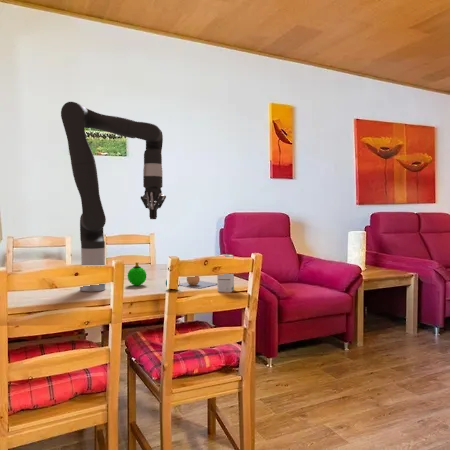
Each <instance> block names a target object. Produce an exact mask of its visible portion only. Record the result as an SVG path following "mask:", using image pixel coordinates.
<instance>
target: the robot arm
mask: <svg viewBox="0 0 450 450" xmlns="http://www.w3.org/2000/svg"><path fill="white" fill-rule="evenodd" d="M60 117H61V121H62V125H63V128H64V132H65V135H66V139H67V144H68V145H67V146H68V152H69V158H70V164H71V165H70V166H71V170H72V175H73V178H74V183H75V186H76V188H77V190H78V194H79V195H80V196H79V197H80V202H81V209H82V210H81V211H82V213H81V215H80V217H79V218H80V219H79V236H80V238H79V239H80V251H81V252H80V255H81V258H80V260H81V261H80V262H81V263H80V266H81V265H105V266H106V242H105V241H106V240H105V238H104V237H105V236H104V227H105V226H106V222H107V221H106V219H107V217H106V215H105V211H104V208H103V204H102V200H101V196H100V187H99V177H98V176H99V175H98V169H97V163H96V159H95V156H94V153H93V151H92V149H91V147H90V144H89V142H88V139H87V137H86V131H85V129H93V130H101V131H104V132H108V133H111V134H114V135H117V136H121V137H125V138H129V139H138V140H141V141H142V140H143V141H145V150H144V153H143V171H142V172H143V173H142V176H143V188H144V195H141V196H140V200H141V201H142V204H143V206H144V207H145V209H148V211H149V215H148V216H149V219H150V220H157V217H158V209H161V208H162V206H163V204H164V202H165V200H166V198H167V195H164V194H163V192H162V188H163V165H162V164H163V163H162V162H163V157H162V154H163V153H162V149H163V141H164V140H163V139H164V138H163V137H164V136H163V132H162V130H161V129H160V127H159V126H157V124H154V123H152V122H151V123H150V122H143V121H138V120H137V121H136V120H135V119H134V120H133V119H130V118H125V117H121V116H115V115H107V114H102V113H99V112H96V111H93V110H92V109H89V108H87V107H85V106H84V105H82V104H80V103H78V102H74V101H67V102H66V103H64V104H63V106H61V111H60ZM105 290H106V283H105V284H99V285H90V286H83V287H80V286H79V291H80V292H91V293H92V292H101V291H105Z"/></svg>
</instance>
